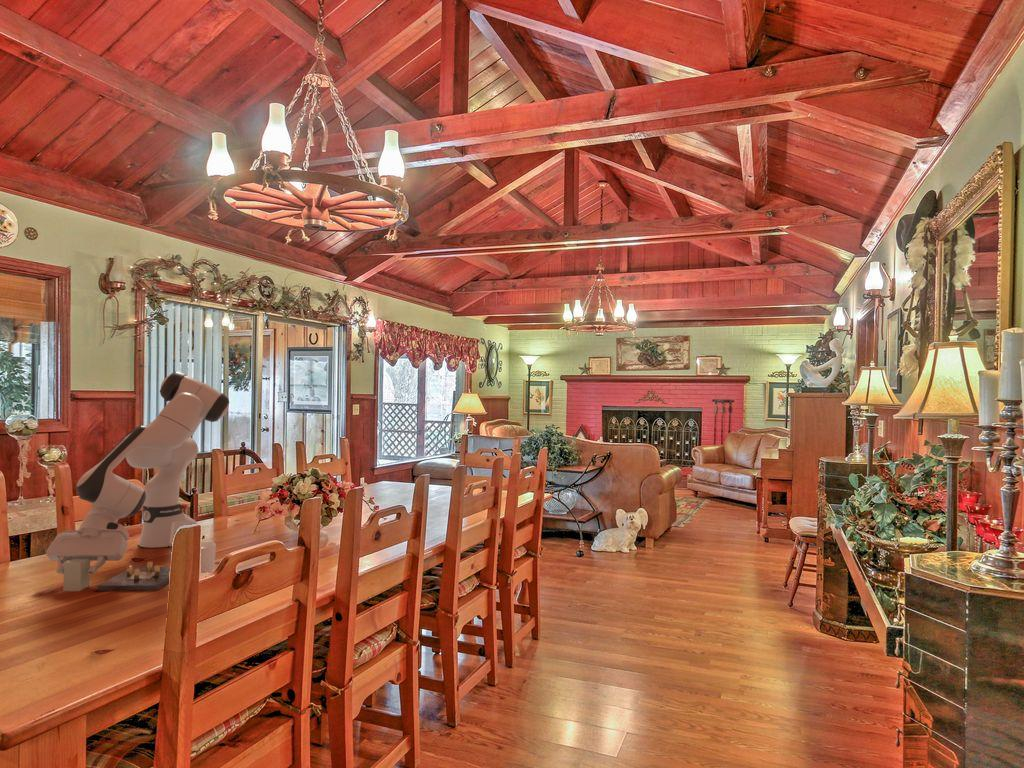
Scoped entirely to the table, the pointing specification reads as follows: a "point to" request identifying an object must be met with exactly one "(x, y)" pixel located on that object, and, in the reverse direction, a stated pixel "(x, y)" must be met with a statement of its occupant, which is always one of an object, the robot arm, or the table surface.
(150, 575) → the chassis
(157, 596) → the table surface
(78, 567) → the block
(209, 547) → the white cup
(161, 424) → the robot arm
